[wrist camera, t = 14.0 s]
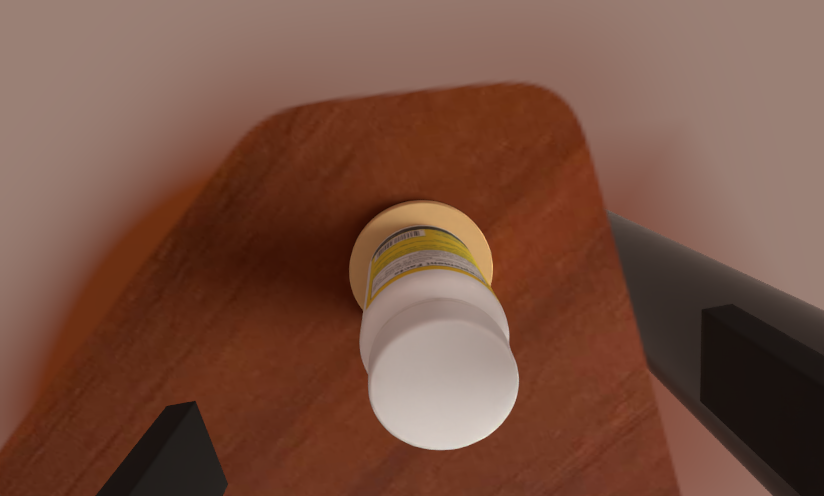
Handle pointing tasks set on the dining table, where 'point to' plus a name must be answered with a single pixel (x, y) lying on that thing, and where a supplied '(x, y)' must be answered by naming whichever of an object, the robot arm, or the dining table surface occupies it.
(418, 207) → the coaster
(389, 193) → the dining table surface
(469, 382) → the supplement bottle
